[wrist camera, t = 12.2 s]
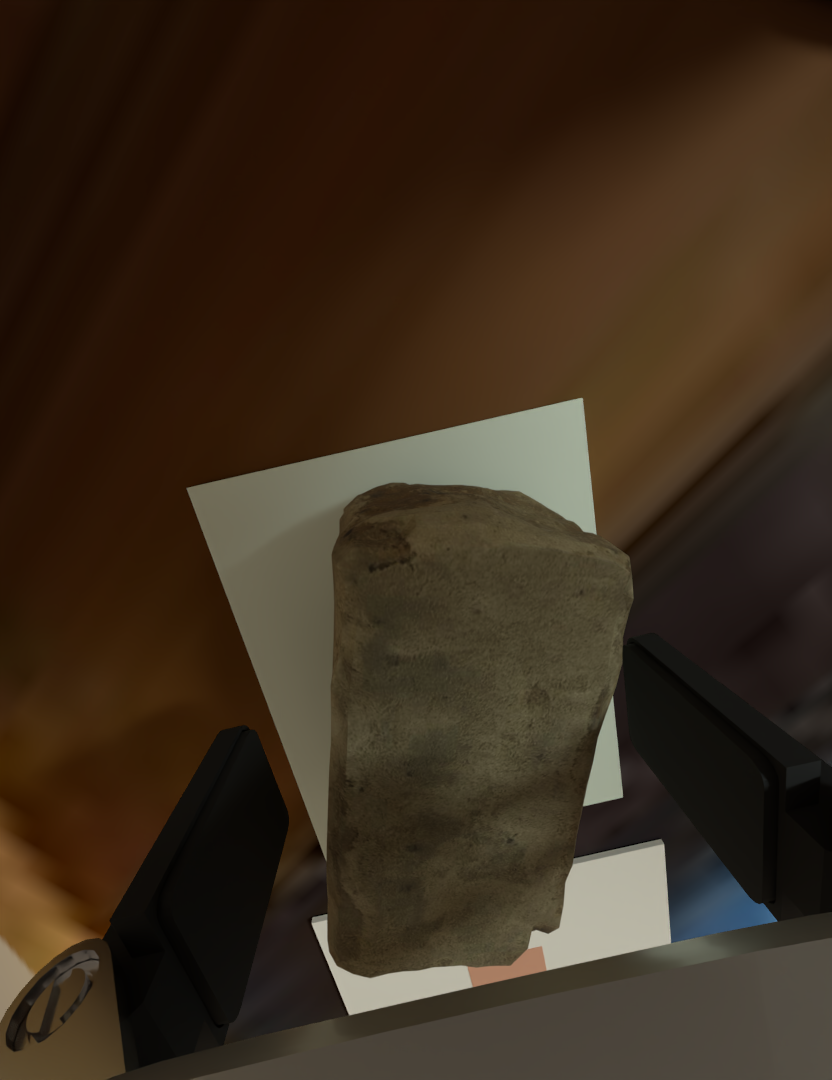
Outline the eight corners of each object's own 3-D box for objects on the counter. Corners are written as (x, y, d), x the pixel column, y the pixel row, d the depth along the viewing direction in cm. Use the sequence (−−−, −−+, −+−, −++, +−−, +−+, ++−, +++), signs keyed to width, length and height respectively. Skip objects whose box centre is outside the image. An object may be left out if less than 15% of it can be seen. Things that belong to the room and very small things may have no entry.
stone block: (345, 806, 14) (320, 1004, 9) (347, 473, 11) (312, 502, 6) (509, 804, 14) (568, 993, 9) (551, 482, 11) (668, 515, 7)
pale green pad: (193, 486, 11) (186, 487, 11) (575, 398, 11) (582, 397, 11) (329, 852, 15) (327, 863, 15) (617, 787, 15) (623, 797, 14)
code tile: (312, 917, 16) (311, 924, 15) (660, 839, 16) (664, 844, 15) (407, 1150, 20) (407, 1158, 20) (678, 1090, 20) (681, 1096, 20)
